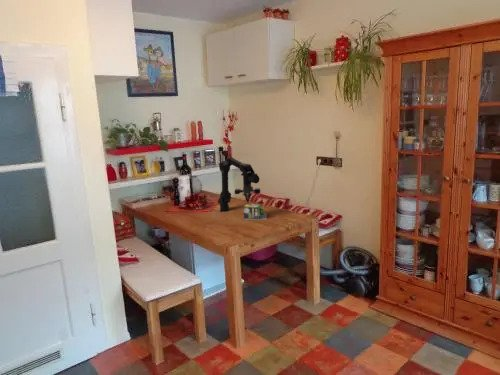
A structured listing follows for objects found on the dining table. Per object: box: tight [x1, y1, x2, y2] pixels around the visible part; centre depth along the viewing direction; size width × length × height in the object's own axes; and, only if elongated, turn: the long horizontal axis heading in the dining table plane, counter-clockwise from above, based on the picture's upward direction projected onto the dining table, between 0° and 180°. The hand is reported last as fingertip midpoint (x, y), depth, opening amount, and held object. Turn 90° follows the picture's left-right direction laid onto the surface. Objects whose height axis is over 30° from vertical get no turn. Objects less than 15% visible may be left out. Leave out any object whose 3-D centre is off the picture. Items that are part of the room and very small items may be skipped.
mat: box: [243, 212, 268, 221], centre depth 274 cm, size 16×16×1 cm
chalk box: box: [243, 203, 265, 219], centre depth 271 cm, size 9×9×15 cm
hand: (248, 202), depth 272 cm, fingers closed
